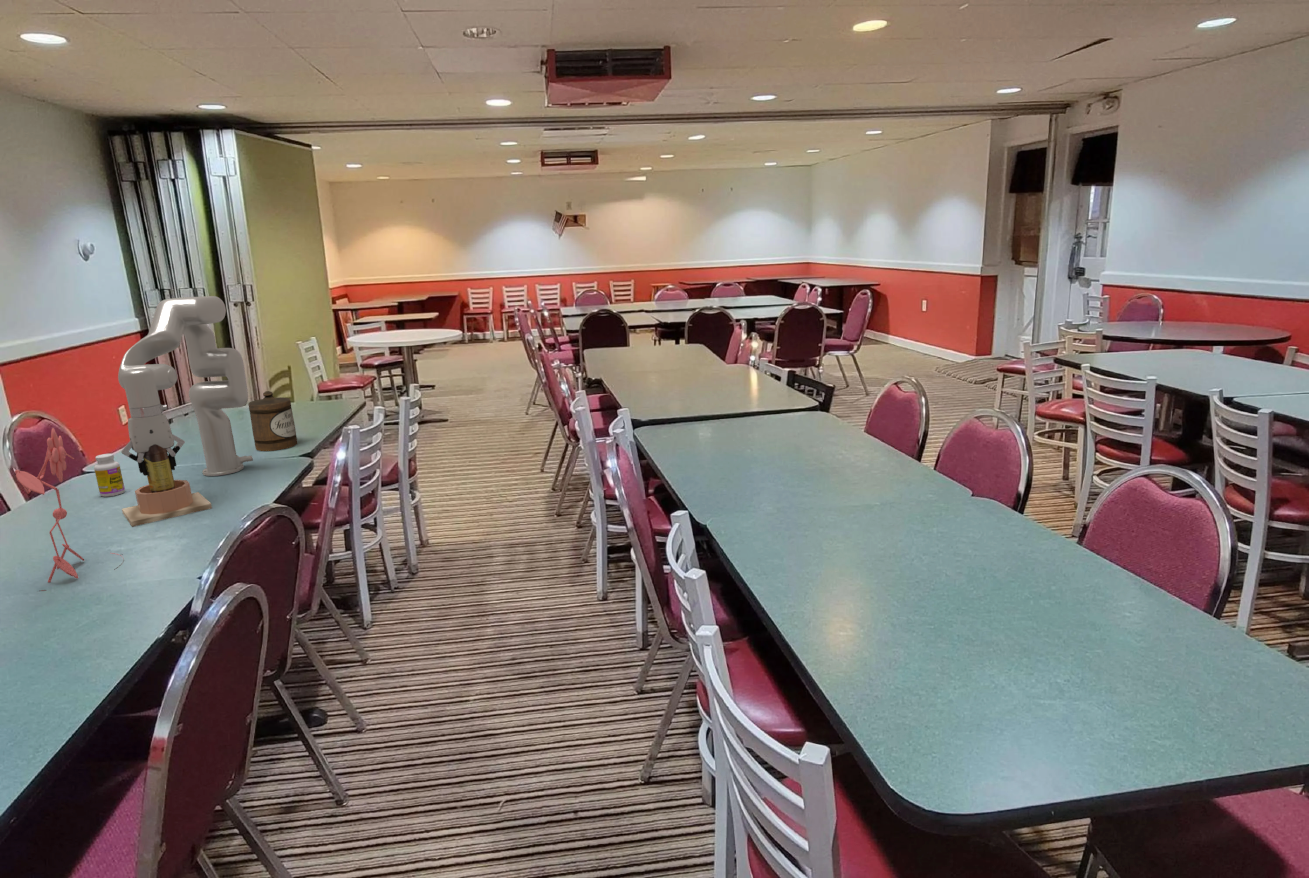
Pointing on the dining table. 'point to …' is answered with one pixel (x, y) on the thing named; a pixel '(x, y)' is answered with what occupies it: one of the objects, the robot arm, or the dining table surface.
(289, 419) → the wooden container
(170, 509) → the jar collar
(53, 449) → the figurine
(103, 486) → the supplement bottle
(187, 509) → the birch board
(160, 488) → the sauce bottle
